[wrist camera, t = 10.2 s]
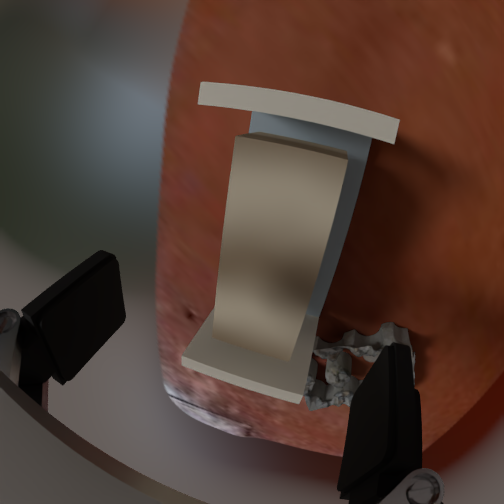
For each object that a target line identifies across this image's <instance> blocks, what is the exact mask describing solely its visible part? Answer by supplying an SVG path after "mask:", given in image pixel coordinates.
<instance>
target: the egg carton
mask: <svg viewBox="0 0 504 504" xmlns="http://www.w3.org/2000/svg"><path fill="white" fill-rule="evenodd" d="M393 342H396V343H400V344H404V345H408V346H410V349H411V356H412V365H413V376H414V378H415V372H414V364H415V351H414V352H413V353H412V345H411V344H410V341H409V334H408V329H407V328H400V327H397V326H396V325H395V324H394V323H393V322H387V323H384V324H381V328H380V330H379V331H378V332H377V333H376V334H374V335H371V336H363V335H360V334H359V333H358V332H357V331H356V330H351V331H349V332H345V333H344V335H343V338H342V339H341V340H340V341H338V342H336V343H327V342H324V341H323V340H321V339H320V337H319V336H317V337H315V342H314V347H313V352H314V354H315V355H318V356H320V357H321V358H322V359H327V365H326V372H325V377H326V381H327V382H328V383H329V384H331V385H325V383H324V382H322V381H321V380H317V379H316V374H317V367H318V364H317V362H316V360H314V359H313V358H311V362H310V367H309V372H308V376H307V381H306V385H305V390H304V394H303V396H305V400H306V404H307V406H308V408H309V411H313V410H316V409H320V408H325V407H329V406H330V405H337V406H338V407H339V406H341V405H342V404H346V405H347V406H349V407H350V405H351V400H352V397H353V395H354V393H355V391H356V390H357V389H358V387H359V386H360V384H361V383H362V381H363V380H357V379H356V378H355V377H354V376H352V375H351V366H352V358H351V356H350V355H349V354H348V353H346V352H343V348H347V349H349V350H350V351H351V352H352V353H353V354H354V355H356V356H357V357H361V356H362V355H363V357H364V359H365V360H366V361H369V362H375V361H376V359H377V358H378V356H379V354H380V353H381V351H382V349H383V348H384V346H385V345H388V346H390V345H391V343H393ZM325 363H326V362H325ZM414 385H415V383H414Z"/></svg>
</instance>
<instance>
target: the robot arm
mask: <svg viewBox="0 0 504 504" xmlns="http://www.w3.org/2000/svg"><path fill="white" fill-rule="evenodd" d="M21 311H22V313H23V317H20V315H19V313H18V312H17V311H16V310H14V309H9V308H7V309H2V310H0V504H208V503H206V502H203V501H200V500H198V499H195V498H193V497H190V496H188V495H185V494H183V493H181V492H178V491H176V490H174V489H172V488H170V487H167V486H165V485H163V484H161V483H159V482H157V481H155V480H153V479H151V478H149V477H147V476H145V475H143V474H141V473H139V472H137V471H135V470H134V469H132V468H130V467H128V466H126V465H125V464H123V463H121V462H119V461H118V460H116V459H114V458H113V457H111V456H109V455H108V454H106V453H104V452H103V451H101V450H100V449H98V448H97V447H95V446H94V445H92V444H90V443H89V442H87V441H86V440H84V439H83V438H82V437H80V436H79V435H77V434H76V433H74V432H73V431H72V430H70V429H69V428H68V427H66V426H65V425H64V424H62V423H61V422H60V421H58V420H57V419H56V418H54V417H53V416H52V415H51V414H49V413H48V379H49V378H50V377H51V376H52V377H53V379H55V380H56V381H57V382H59V383H60V384H62V385H64V384H65V383H66V381H70V380H72V379H73V378H74V377H75V375H76V374H77V373H78V372H79V371H80V370H81V369H82V368H83V367H84V365H85V364H86V363H87V362H88V361H89V360H90V359H91V358H92V357H93V355H94V354H95V353H96V352H97V351H98V350H99V349H100V348H101V347H102V346H103V345H104V344H105V342H106V341H107V340H108V339H109V338H110V337H111V336H112V335H113V334H114V333H115V332H116V331H117V330H118V329H119V328H120V326H121V325H122V324H123V323H124V321H125V318H126V313H125V307H124V301H123V293H122V287H121V279H120V271H119V263H118V261H117V260H116V257H115V255H113V254H111V253H108V252H106V251H103V250H100V251H98V252H96V253H95V254H93V255H92V256H91V257H90V258H88V259H86V260H85V261H84V262H82V263H81V264H80V265H78V266H77V267H75V268H74V269H73V270H71V271H70V272H69V273H67V274H66V275H65V276H63V277H62V278H61V279H59V280H58V281H57V282H55V283H54V284H53V285H52V286H51V287H49V288H48V289H46V290H45V291H44V292H43V293H41V294H40V295H39V296H38V297H36V298H35V299H34V300H33V301H32V302H30V303H29V304H28V305H27V306H25V307H24V308H23V309H22V310H21ZM337 490H338V491H341V495H340V499H346V500H349V504H443V503H442V500H443V496H444V484H443V481H442V479H441V478H440V476H439V475H438V474H437V473H436V472H434V471H433V470H430V469H427V468H424V469H422V421H421V403H420V394H419V391H418V390H417V389H415V388H414V376H413V365H412V356H411V349H410V346H408V345H404V344H400V343H396V342H393V343H391V345H390V346H388V345H385V346H384V348H383V349H382V351H381V353H380V354H379V356H378V358H377V359H376V361H375V363H374V364H373V366H372V367H371V369H370V370H369V372H368V373H367V375H366V377H365V378H364V380H363V381H362V383H361V384H360V386H359V387H358V389H357V390H356V391H355V393H354V395H353V397H352V400H351V405H350V413H349V421H348V428H347V435H346V441H345V447H344V453H343V459H342V464H341V470H340V475H339V480H338V485H337Z"/></svg>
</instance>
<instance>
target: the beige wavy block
mask: <svg viewBox="0 0 504 504" xmlns="http://www.w3.org/2000/svg"><path fill="white" fill-rule="evenodd" d="M347 164H348V155H347V151H345V150H341V149H337V148H333V147H329V146H325V145H321V144H317V143H313V142H308V141H304V140H299V139H295V138H290V137H285V136H280V135H275V134H270V133H264V132H254V133H248V134H243V135H238V136H236V138H235V145H234V152H233V159H232V166H231V173H230V181H229V188H228V196H227V204H226V212H225V220H224V228H223V236H222V245H221V254H220V262H219V271H218V281H217V290H216V300H215V310H214V320H213V330H212V338H214V339H217V340H220V341H223V342H226V343H229V344H232V345H235V346H238V347H241V348H244V349H248V350H251V351H254V352H257V353H260V354H264V355H267V356H270V357H274V358H277V359H281V360H284V361H288V362H289V361H290V358H291V355H292V352H293V349H294V347H295V344H296V341H297V338H298V335H299V332H300V329H301V326H302V323H303V320H304V317H305V314H306V311H307V308H308V305H309V302H310V298H311V295H312V292H313V289H314V286H315V282H316V279H317V276H318V273H319V269H320V266H321V262H322V259H323V256H324V252H325V249H326V245H327V242H328V238H329V234H330V231H331V227H332V223H333V220H334V216H335V212H336V208H337V204H338V201H339V197H340V193H341V189H342V185H343V180H344V176H345V172H346V168H347Z"/></svg>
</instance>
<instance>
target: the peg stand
mask: <svg viewBox="0 0 504 504" xmlns="http://www.w3.org/2000/svg"><path fill="white" fill-rule="evenodd" d="M198 104H200V105H210V106H219V107H228V108H235V109H243V110H249V111H252V116H251V123H250V129H249V133H254V132H264V133H270V134H275V135H280V136H285V137H290V138H295V139H299V140H304V141H308V142H313V143H317V144H321V145H325V146H329V147H333V148H337V149H341V150H345V151H347V155H348V164H347V168H346V172H345V176H344V180H343V185H342V189H341V193H340V197H339V201H338V204H337V208H336V212H335V216H334V220H333V223H332V227H331V231H330V234H329V238H328V242H327V245H326V249H325V252H324V256H323V259H322V262H321V266H320V269H319V273H318V276H317V279H316V282H315V286H314V289H313V292H312V295H311V298H310V302H309V305H308V308H307V311H306V314H305V317H304V320H303V323H302V326H301V329H300V332H299V335H298V338H297V341H296V344H295V347H294V349H293V352H292V355H291V358H290V361H289V362H288V361H284V360H281V359H277V358H274V357H270V356H267V355H264V354H260V353H257V352H254V351H251V350H248V349H244V348H241V347H238V346H235V345H232V344H229V343H226V342H223V341H220V340H217V339H214V338H212V330H213V320H214V310H215V307H214V309H213V310H212V312H211V313H210V315H209V316H208V318H207V319H206V321H205V322H204V323H203V325H202V326H201V328H200V329H199V331H198V332H197V334H196V335H195V337H194V338H193V340H192V341H191V343H190V344H189V346H188V347H187V348H186V350H185V351H184V353H183V354H182V366H185V367H187V368H190V369H193V370H195V371H198V372H200V373H203V374H206V375H208V376H211V377H214V378H217V379H219V380H222V381H225V382H228V383H231V384H234V385H237V386H240V387H243V388H246V389H249V390H252V391H255V392H258V393H262V394H265V395H268V396H272V397H275V398H279V399H282V400H286V401H289V402H293V403H297V404H299V403H300V401H301V399H302V397H303V394H304V390H305V385H306V381H307V376H308V372H309V367H310V362H311V357H312V352H313V347H314V342H315V336H316V331H317V326H318V320H319V316H320V313H321V310H322V308H323V305H324V302H325V299H326V296H327V294H328V291H329V288H330V285H331V282H332V279H333V276H334V273H335V270H336V267H337V264H338V261H339V258H340V254H341V251H342V248H343V245H344V242H345V238H346V235H347V232H348V228H349V225H350V221H351V218H352V215H353V211H354V207H355V204H356V200H357V197H358V193H359V189H360V185H361V182H362V178H363V174H364V170H365V166H366V162H367V158H368V153H369V149H370V145H371V140H372V138H375V139H379V140H382V141H385V142H388V143H391V144H394V143H395V139H396V134H397V130H398V125H399V121H400V120H399V119H396V118H392V117H389V116H386V115H383V114H380V113H376V112H373V111H369V110H366V109H362V108H358V107H355V106H351V105H347V104H343V103H339V102H335V101H330V100H326V99H322V98H317V97H312V96H307V95H302V94H297V93H291V92H285V91H279V90H273V89H266V88H259V87H252V86H243V85H234V84H224V83H212V82H201V85H200V92H199V99H198Z"/></svg>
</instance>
